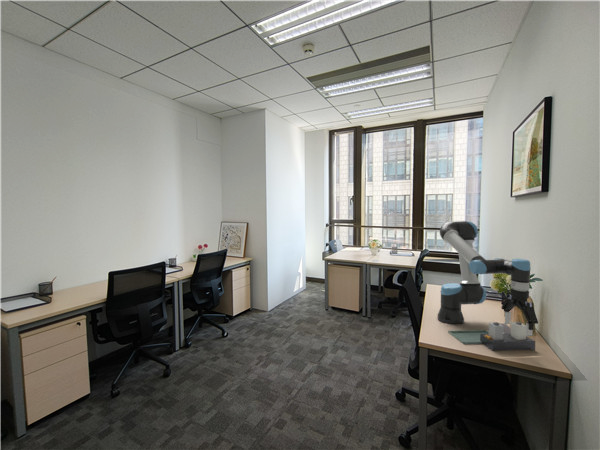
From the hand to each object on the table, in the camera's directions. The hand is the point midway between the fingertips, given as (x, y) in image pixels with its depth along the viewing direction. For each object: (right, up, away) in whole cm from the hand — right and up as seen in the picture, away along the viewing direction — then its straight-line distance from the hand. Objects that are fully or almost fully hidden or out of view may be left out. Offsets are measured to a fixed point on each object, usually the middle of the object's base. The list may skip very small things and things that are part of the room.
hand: (517, 329), depth 142 cm
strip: (-6, -9, 0) cm, 11 cm away
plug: (0, -7, 0) cm, 7 cm away
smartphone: (+9, -8, +21) cm, 25 cm away
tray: (-16, -9, +9) cm, 21 cm away
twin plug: (-12, -7, -1) cm, 14 cm away
